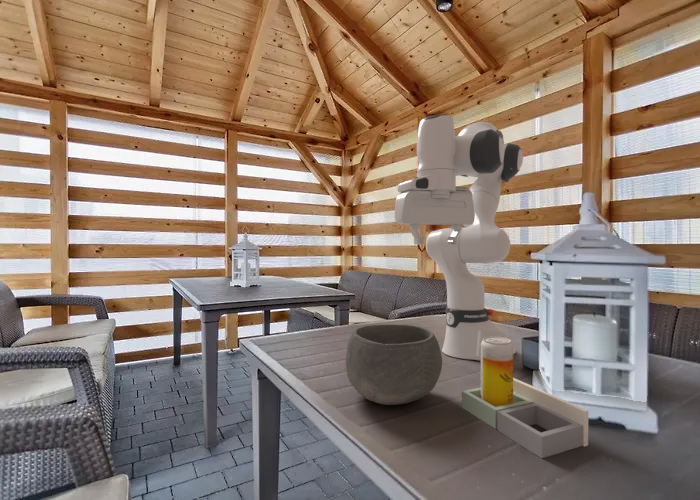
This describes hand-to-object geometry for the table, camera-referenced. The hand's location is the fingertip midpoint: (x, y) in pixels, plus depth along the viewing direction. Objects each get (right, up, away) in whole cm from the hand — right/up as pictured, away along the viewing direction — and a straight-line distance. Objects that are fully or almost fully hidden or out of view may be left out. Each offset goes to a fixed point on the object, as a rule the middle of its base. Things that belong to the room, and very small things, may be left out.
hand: (436, 244), depth 86 cm
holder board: (+11, -34, -16) cm, 40 cm away
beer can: (+9, -35, -12) cm, 38 cm away
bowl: (-11, -35, -5) cm, 36 cm away
